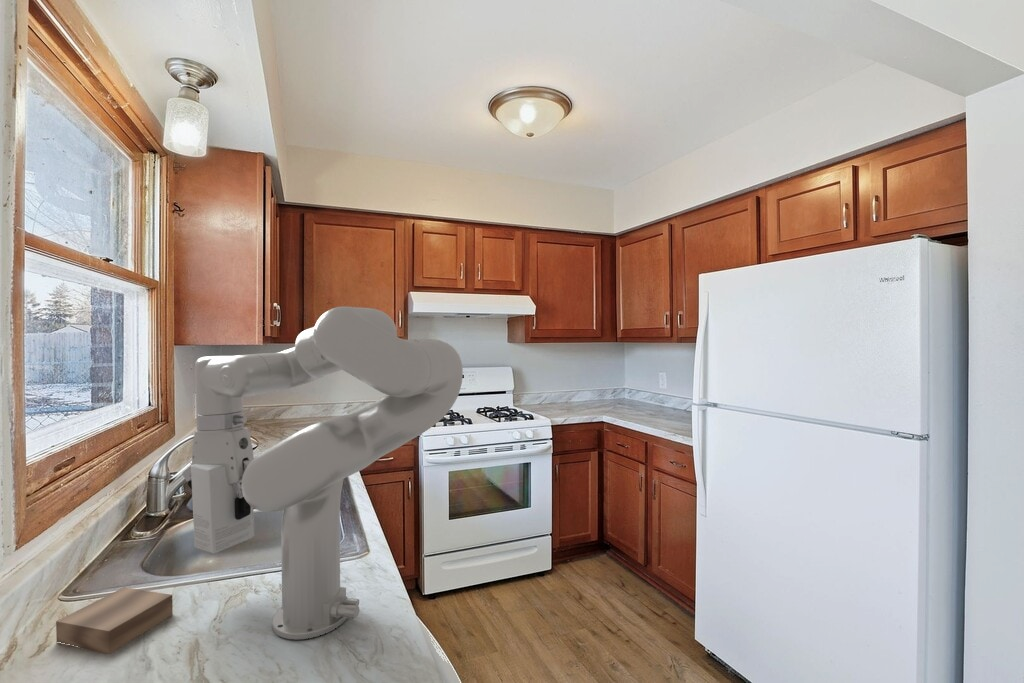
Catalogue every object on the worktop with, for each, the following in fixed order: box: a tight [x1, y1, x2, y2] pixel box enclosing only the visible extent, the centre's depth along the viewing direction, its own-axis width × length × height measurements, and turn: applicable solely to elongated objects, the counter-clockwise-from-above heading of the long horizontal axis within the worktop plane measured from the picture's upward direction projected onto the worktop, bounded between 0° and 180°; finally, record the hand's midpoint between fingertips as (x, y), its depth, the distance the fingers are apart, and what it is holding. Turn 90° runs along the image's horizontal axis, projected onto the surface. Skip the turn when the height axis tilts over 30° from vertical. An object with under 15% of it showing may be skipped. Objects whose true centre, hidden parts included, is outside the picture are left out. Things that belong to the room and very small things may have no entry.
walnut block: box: [55, 586, 174, 655], centre depth 84 cm, size 11×11×4 cm
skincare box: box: [190, 459, 256, 555], centre depth 92 cm, size 8×7×16 cm
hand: (223, 515), depth 92 cm, fingers closed on skincare box, 7 cm apart
